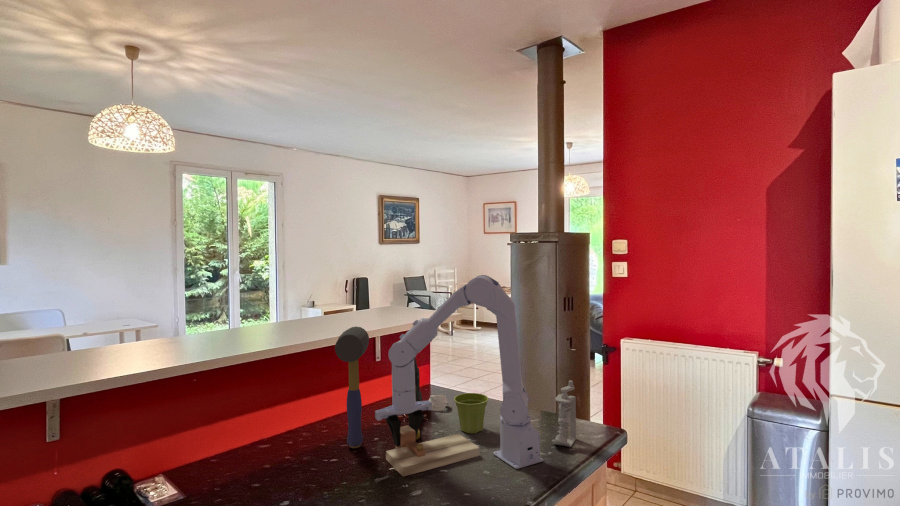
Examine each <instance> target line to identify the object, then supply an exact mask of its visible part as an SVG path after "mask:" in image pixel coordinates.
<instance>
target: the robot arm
mask: <svg viewBox="0 0 900 506" xmlns="http://www.w3.org/2000/svg"><path fill="white" fill-rule="evenodd" d="M471 304H473V305H476V306H480V307H483V308H485V309H487V310H488V311H489V312H491V313H492V314H493V315H495V319H496V328H497V338H498V349H499V359H500V368H501V370H500V371H501V378H502V379H501V380H502V402H501V405H500V407H499V412H500V413H499V414H500V416H499V436H500V438H499V439H500V440H499V441H500V442H499V443H500V444H499V445H500V450H495V451H493V452H492V454H493V455H494V456H496V457H497V458H498V459H500V460H502V461H503V462H505V463H506V464H508V465H510V466H511V467H512V468H513V469H516V470H518V469H521V468H524V467H528V466H531V465H534V464H539V463H541V462H543V461H544V458H542V457H541V437H540V436H541V435H540V432H539V431H538V429H536V428H535V427H534V425H533V423H532V421H531V416H530V415H529V412H528V411H529V409H528V406H529V401H530V399H529V394H528V392H527V391H526V389H525V386H524V380H523V376H522V364H521V357H520V343H519V334H518V333H519V332H518V324H517V315H516V306H515V303H514V301H513V299H512V298H511V297H510V296H509V295H508V293H507V292H506V291H505V290H504V288H503V287H502V286H501V284H500V282H499V281H497V280H496V279H494V278H492V277H491V276H489V275H486V274H481V275H477V276H476V277H474V278H471V279H470V280H469V281H468V282H467V283H466V284H464V285H463V286H461V287H460V288H458V289H457V290H456V291H454V292H453V293H452V294H451V295H450V296H449V297H448V298H447V299H446V300H445V301H444V302H443V303H442V304H441V305H440V306H439V307H438V309H436V310H435V312H433V313H432V315H430V317H429V318H425V317H423V318H422V317H421V318H420V319H415V321H414V322H412V325H413V326H412V327H411V328H410V329H408V331H406V333H405V334H404V333H401V334H400V336H399V339H400V340H398V341H397V342H394V343H392V344H391V347H390V348H389V349H388V355H387V356H388V359H389V361H390V363H391V392H392V393H391V396H392V397H391V398H392V405H389V406H387V407H383V408H380V409H377V410H374V418H375V419H376V420H377V421H378V422H379V421H382V420H383V419H385V422H386V423H387V425H388V429H389V430H390V432H391V437H392V439H393V444H394V445H396V446H397V447H398V446H400V427H402V426H401V425H402V421H401V420H400V419H399V416H404V415H407V419H408V426H410V427H411V428H412V429H413V430H415V433H416V437H417V433H418V429H419V430H420V426H421V424H422V422H423V420H424V418H425V414H424V413H423V411H432V402H430V401H429V399H428V400H422V401H418V402H415V369H414V358H415V359H416V357H417V355H418V354H419V353H421V351H423V349H425V348H426V347H427V346H428V345H429V344H430V343H431V342H432V341H433V340H434V339H435V338H436V337H437V336H438V328H439V327H440V326H441V325H443V323H444V322H445V321H447V319H448V318H450V317H451V316H452V315H453V314H454V313H455V312H456V311H457V310H458V309H459V308H462V307H463V308H464V307H467V306H470V305H471Z"/></svg>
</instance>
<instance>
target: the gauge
mask: <svg viewBox="0 0 900 506" xmlns="http://www.w3.org/2000/svg"><path fill="white" fill-rule="evenodd" d="M416 441H417V439H416V433H415V430H413V429H412V428H411V427H410V426H409V424H407V425H404V426H400V446H398V447H397V446H396V445H395V444H394V445H395V448H394V449H397V448H401V447H405V446H406V447H407V448H409V449H410V450H411V451H412V452H413V453H414V454H415V455H417V456H418V457H419V456H423V455H425V449H423V444H418V442H416Z"/></svg>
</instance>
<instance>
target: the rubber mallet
mask: <svg viewBox="0 0 900 506" xmlns="http://www.w3.org/2000/svg"><path fill="white" fill-rule="evenodd" d="M369 336H370V335H369V333H368V331H367V330H366V329H365V328H363V327H361V326H352V327H350V328H347V329H346V330H345V331H343V332H342V333H341V334H340V335H339V336H338V338H337V340H336V343H335V344H334V345H335V346H334V350H335V351H334V352H335V354H336V356H337V357H338V358H339V359H340V361H342V362H345V363H348V390H347V396H346V413H347V429H348V430H347V437H346V443H347V445H348V446H349V448H351V449H358V448H360V447H361V446H362V444H363V441H364V435H363V433H362V411H363V408H362V407H363V402H362V395H361V389H360V375H359V374H360V373H359V372H360V371H359V368H360V367H359V359H360V358H361V357H362V356H363V355H364V354H365V353H366V351H367V349H368V348H369V347H368V346H369V342H370V337H369Z"/></svg>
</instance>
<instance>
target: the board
mask: <svg viewBox="0 0 900 506" xmlns="http://www.w3.org/2000/svg"><path fill="white" fill-rule="evenodd" d="M417 444H423V449H425V455H423V456H419V457H418V456H417V455H415V454H414V453H413V452H412V451H411V450H410V449H409V448H407V447H406V446H405V447H401V448H397V449H395V448H393V449H389V450H386V451H385V460H386V461H387V462H388V463H389V464H390V465H391V466H392V467H393V468H394V469H395V470H396V471H397V472H398V474H400V475H401V477H406V476H407V477H408V476H411V475H414V474H417V473H421V472H426V471H429V470H433V469H436V468H440V467H444V466H447V465H451V464H454V463H458V462H462V461H465V460H469V459H473V458H476V457H480V452H481V451H480V446H479V445H476V444H475V443H473V442H472V441H470V440H469V439H467V438H466V437H465V436H463V435H461V434H460V433H455V434H451V435H448V436H444V437H439V438H435V439H430V440H426V441H422V442H417Z"/></svg>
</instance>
